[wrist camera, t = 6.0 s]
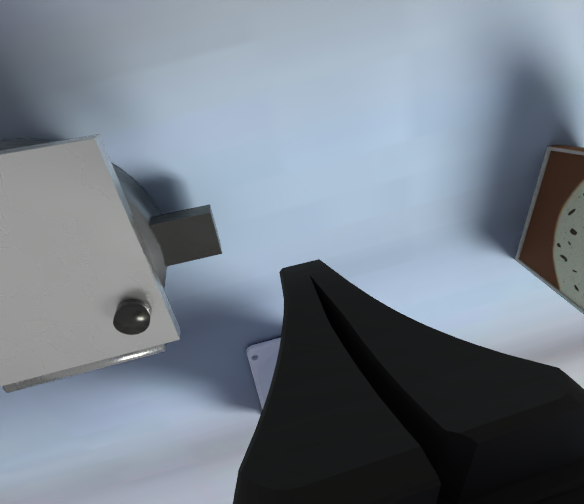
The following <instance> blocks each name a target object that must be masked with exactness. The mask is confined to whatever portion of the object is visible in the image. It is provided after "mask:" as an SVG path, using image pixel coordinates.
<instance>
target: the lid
mask: <svg viewBox="0 0 584 504" xmlns="http://www.w3.org/2000/svg"><path fill="white" fill-rule="evenodd" d="M176 340H180V327H179V325H178V322H177V320H176V318H175V315H174V313H173V310H172V308H171V306H170V303H169V301H168V298H167V296H166V293H165V291H164V289H163V286H162V284H161V281H160V279H159V277H158V274H157V272H156V269H155V267H154V264H153V262H152V260H151V257H150V255H149V252H148V250H147V248H146V245H145V243H144V240H143V238H142V235H141V233H140V231H139V228H138V226H137V223H136V221H135V219H134V216H133V214H132V211H131V209H130V206H129V204H128V202H127V199H126V197H125V194H124V192H123V190H122V187H121V185H120V182H119V180H118V177H117V175H116V173H115V170H114V168H113V165H112V163H111V161H110V158H109V156H108V153H107V151H106V149H105V146H104V144H103V141H102V139H101V136H100V134H97V135H91V136H85V137H79V138H73V139H67V140H61V141H55V142H49V143H43V144H37V145H31V146H25V147H19V148H13V149H7V150H1V151H0V386H3V389H4V391H5V392H7V393H9V392H13V391H17V390H21V389H24V388H28V387H32V386H36V385H40V384H43V383H47V382H51V381H55V380H59V379H62V378H66V377H70V376H74V375H78V374H81V373H85V372H89V371H93V370H96V369H100V368H104V367H108V366H112V365H115V364H119V363H123V362H127V361H131V360H134V359H138V358H142V357H146V356H150V355H153V354H157V353H161V352H165V351H166V343H169V342H173V341H176Z"/></svg>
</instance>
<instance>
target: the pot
mask: <svg viewBox="0 0 584 504" xmlns="http://www.w3.org/2000/svg"><path fill="white" fill-rule="evenodd" d="M49 142H55V141H49V140H41V139H10V140H1V141H0V151H1V150H7V149H13V148H19V147H25V146H31V145H37V144H43V143H49ZM112 165H113V168H114V170H115V173H116V175H117V177H118V180H119V182H120V185H121V187H122V190H123V192H124V194H125V197H126V199H127V202H128V204H129V206H130V209H131V211H132V214H133V216H134V219H135V221H136V223H137V226H138V228H139V231H140V233H141V235H142V238H143V240H144V243H145V245H146V248H147V250H148V252H149V255H150V257H151V260H152V262H153V264H154V267H155V269H156V272H157V274H158V277H159V279H160V281H161V284H162V286H163V289H164V285H165V277H166V269H167V266H170V265H174V264H178V263H183V262H187V261H191V260H196V259H200V258H205V257H209V256H213V255H218V254H222V251H221V244H220V240H219V237H218V233H217V229H216V225H215V222H214V218H213V214H212V211H211V207H210V205H206V206H201V207H196V208H191V209H186V210H181V211H176V212H172V213H167V214H162V215H161V214H160V211H159V210H158V208H157V206H156V205H155V203H154V201H153V200H152V198H151V197H150V196H149V195H148V194H147V192H146V191H145V190H144V189H143V188H142V187H141V186H140V185H139V184H138V183H137V182H136V181H135V180H134V179H133V178H132V177H131V176H130V175H128V174H127V173H126V172H124V171H123V170H122V169H121V168H119V167H117V166H116V165H114V164H113V163H112Z"/></svg>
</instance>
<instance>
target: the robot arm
mask: <svg viewBox="0 0 584 504" xmlns="http://www.w3.org/2000/svg"><path fill="white" fill-rule="evenodd" d="M280 278H281V284H282V290H283V296H284V316H283V326H282V335H281V338H277V339H273V340H270V341H266V342H262V343H258V344H255V345H251V346H249V347H248V348H247V356H248V360H249V363H250V367H251V371H252V374H253V378H254V381H255V385H256V389H257V392H258V396H259V399H260V403H261V407H262V413H261V416H260V419H259V422H258V424H257V427H256V430H255V432H254V435H253V437H252V439H251V442H250V444H249V447H248V449H247V451H246V454H245V456H244V459H243V461H242V463H241V466H240V468H239V471H238V478H237V483H236V489H235V494H234V501H233V504H584V389H583V388H582V387H581V386H580V385H578V384H577V383H576V382H575V381H574V380H573V379H571V378H570V377H569V376H568V375H567V374H566V373H564V372H563V371H562V370H561V369H559V368H557V367H553V366H549V365H545V364H542V363H538V362H534V361H530V360H526V359H522V358H518V357H515V356H511V355H507V354H504V353H500V352H497V351H494V350H491V349H488V348H485V347H482V346H478V345H475V344H472V343H470V342H467V341H464V340H461V339H458V338H456V337H453V336H451V335H448V334H446V333H443V332H441V331H438V330H436V329H433V328H431V327H428V326H426V325H424V324H422V323H419V322H417V321H415V320H413V319H411V318H409V317H407V316H405V315H403V314H401V313H399V312H397V311H395V310H393V309H392V308H390V307H388V306H386V305H385V304H383V303H381V302H379V301H378V300H376V299H374V298H373V297H371V296H370V295H368V294H367V293H365V292H364V291H362V290H361V289H359V288H358V287H356V286H355V285H353V284H352V283H350V282H349V281H348V280H346V279H345V278H343V277H342V276H341V275H339V274H338V273H337V272H335V271H334V270H333V269H331V268H330V267H329V266H327V265H326V264H325V263H323V262H322V261H321V260H315V261H311V262H306V263H302V264H298V265H294V266H290V267H286V268H282V270H281V271H280ZM254 355H256V356H254Z"/></svg>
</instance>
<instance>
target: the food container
mask: <svg viewBox="0 0 584 504" xmlns="http://www.w3.org/2000/svg"><path fill="white" fill-rule="evenodd" d="M515 260H516V261H517V262H518V263H520V264H521V265H522V266H523V267H525V268H526V269H527V270H528V271H530V272H531V273H532V274H534V275H535V276H536V277H537V278H539V279H540V280H541V281H542V282H544V283H545V284H546V285H547V286H549V287H550V288H551V289H553V290H554V291H555V292H556V293H558V294H559V295H560V296H561V297H563V298H564V299H565V300H566V301H568V302H569V303H570V304H571V305H573V306H574V307H575V308H577V309H578V310H579V311H580V312H582V313H583V314H584V148H581V147H574V146H567V145H553V146H547V149H546V153H545V156H544V160H543V163H542V166H541V170H540V173H539V177H538V180H537V184H536V187H535V191H534V194H533V198H532V201H531V205H530V208H529V212H528V215H527V218H526V222H525V225H524V229H523V232H522V236H521V239H520V243H519V246H518V250H517V253H516V257H515Z"/></svg>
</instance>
